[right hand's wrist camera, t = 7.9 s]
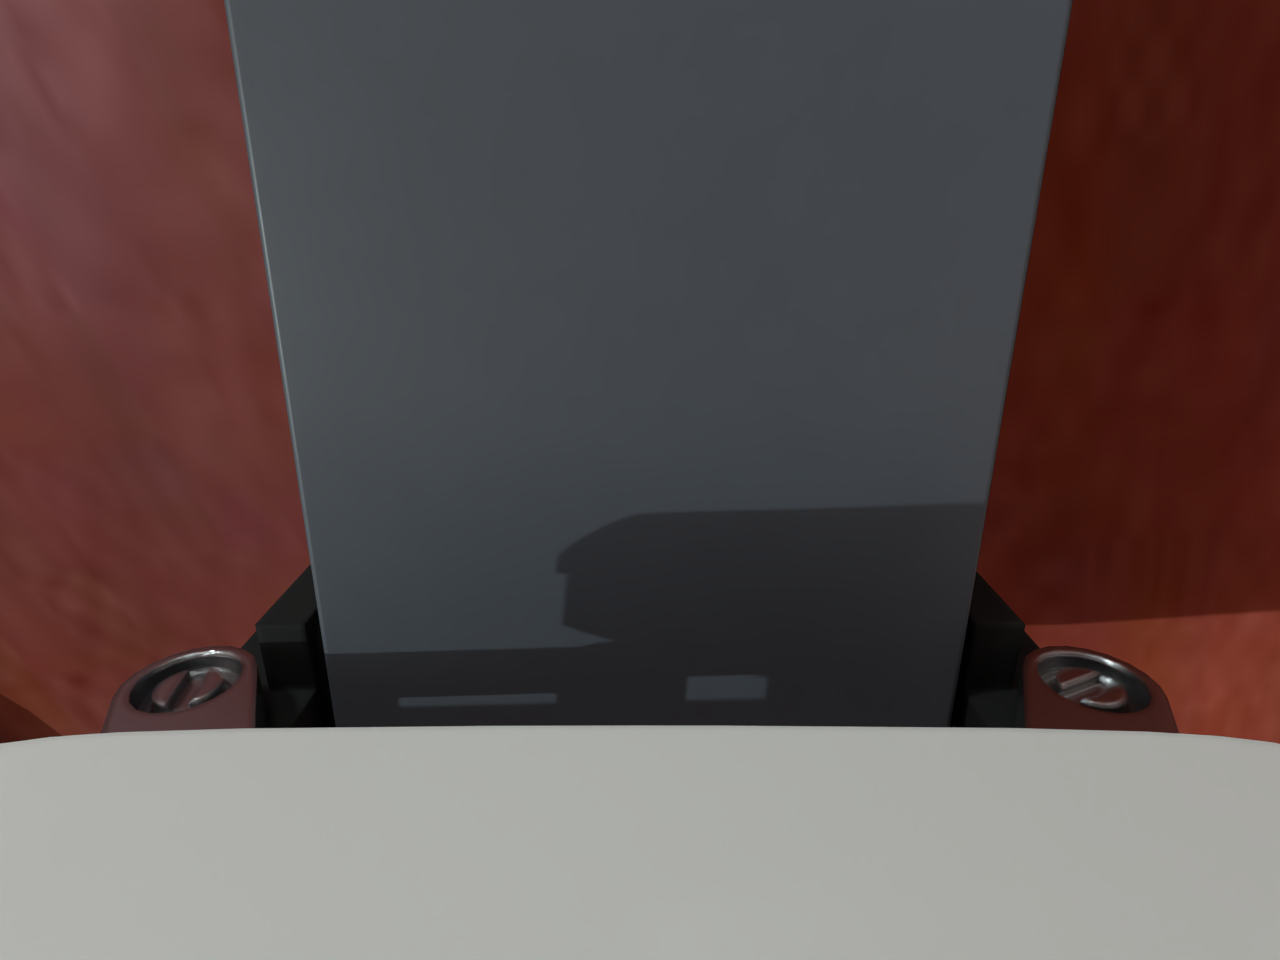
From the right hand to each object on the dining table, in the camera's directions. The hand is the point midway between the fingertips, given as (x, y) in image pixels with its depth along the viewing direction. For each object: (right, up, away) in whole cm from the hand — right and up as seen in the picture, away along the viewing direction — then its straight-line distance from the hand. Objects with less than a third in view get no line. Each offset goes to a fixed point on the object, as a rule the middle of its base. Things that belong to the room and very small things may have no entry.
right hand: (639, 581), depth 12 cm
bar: (0, +34, -10) cm, 35 cm away
